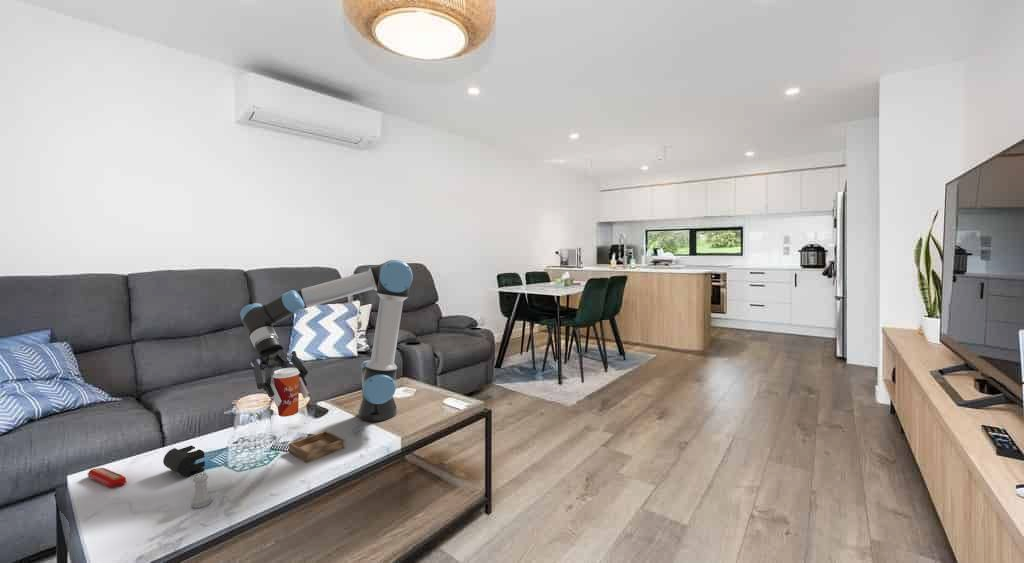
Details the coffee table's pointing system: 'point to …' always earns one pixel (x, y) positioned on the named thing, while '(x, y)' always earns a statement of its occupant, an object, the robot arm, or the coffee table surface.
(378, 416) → the robot arm
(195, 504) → the rook chess piece
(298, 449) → the tray
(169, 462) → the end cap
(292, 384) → the paper cup
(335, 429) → the coffee table surface
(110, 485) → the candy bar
